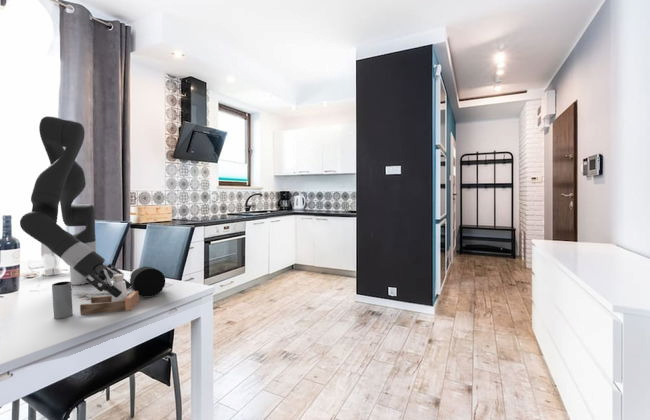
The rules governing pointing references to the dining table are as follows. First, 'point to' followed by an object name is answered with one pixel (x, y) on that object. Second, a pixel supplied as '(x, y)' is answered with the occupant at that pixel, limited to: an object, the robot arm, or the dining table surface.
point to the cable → (147, 281)
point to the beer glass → (50, 261)
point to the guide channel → (109, 304)
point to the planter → (62, 299)
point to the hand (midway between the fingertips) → (124, 291)
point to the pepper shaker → (120, 287)
